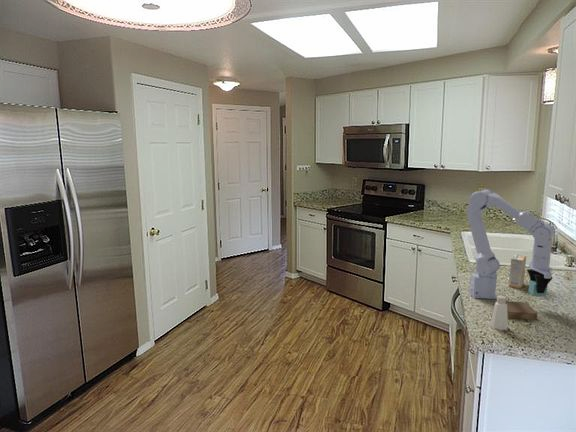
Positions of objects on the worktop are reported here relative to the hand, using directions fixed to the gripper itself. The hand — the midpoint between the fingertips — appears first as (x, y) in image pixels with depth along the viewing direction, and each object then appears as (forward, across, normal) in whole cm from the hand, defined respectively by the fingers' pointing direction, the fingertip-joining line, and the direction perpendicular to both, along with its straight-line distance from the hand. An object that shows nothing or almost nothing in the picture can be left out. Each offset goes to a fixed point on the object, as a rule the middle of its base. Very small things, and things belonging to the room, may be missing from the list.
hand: (537, 290), depth 153 cm
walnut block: (+7, -6, +9) cm, 13 cm away
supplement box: (+7, +26, -2) cm, 27 cm away
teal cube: (+1, 0, 0) cm, 1 cm away
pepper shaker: (+7, -19, +19) cm, 28 cm away
